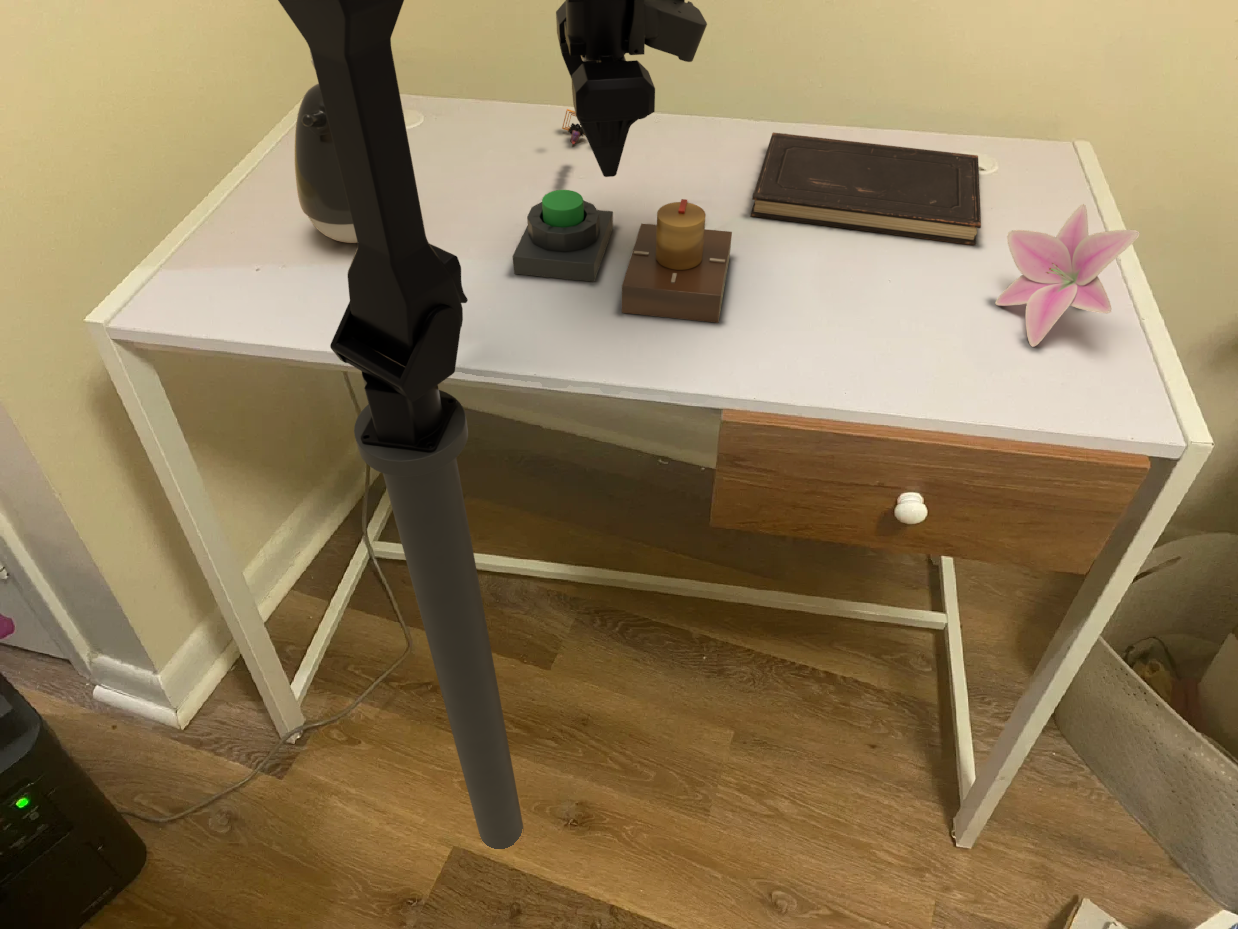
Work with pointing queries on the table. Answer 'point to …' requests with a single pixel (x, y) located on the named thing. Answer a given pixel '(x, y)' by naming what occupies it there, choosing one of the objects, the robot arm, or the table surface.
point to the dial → (680, 235)
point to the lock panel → (676, 280)
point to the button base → (564, 246)
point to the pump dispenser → (320, 171)
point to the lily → (1061, 271)
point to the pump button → (563, 208)
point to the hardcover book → (870, 188)
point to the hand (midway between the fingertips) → (603, 151)
